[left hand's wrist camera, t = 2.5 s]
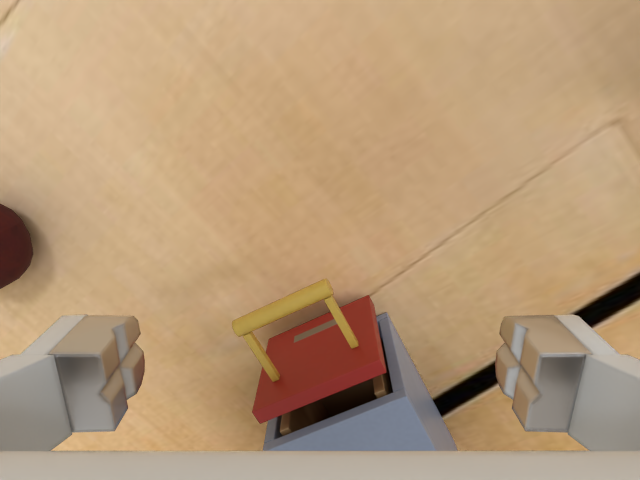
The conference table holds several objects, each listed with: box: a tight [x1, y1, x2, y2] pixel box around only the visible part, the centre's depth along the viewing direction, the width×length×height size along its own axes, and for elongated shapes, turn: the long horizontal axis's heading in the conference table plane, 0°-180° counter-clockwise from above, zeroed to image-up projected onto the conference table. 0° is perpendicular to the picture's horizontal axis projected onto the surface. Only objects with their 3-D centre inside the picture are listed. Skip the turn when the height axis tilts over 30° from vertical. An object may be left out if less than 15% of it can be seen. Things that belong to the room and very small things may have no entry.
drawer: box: [232, 279, 393, 436], centre depth 38 cm, size 22×10×10 cm, turn 27°
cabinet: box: [263, 312, 457, 451], centre depth 40 cm, size 17×11×12 cm
